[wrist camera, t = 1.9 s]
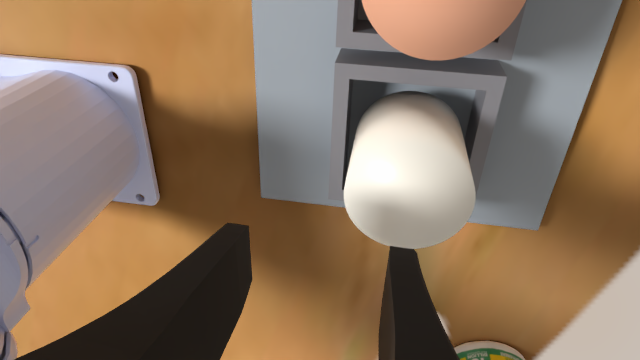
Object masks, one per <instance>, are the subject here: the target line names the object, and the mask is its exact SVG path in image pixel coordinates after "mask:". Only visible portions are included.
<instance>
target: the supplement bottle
mask: <svg viewBox="0 0 640 360" xmlns="http://www.w3.org/2000/svg"><path fill="white" fill-rule="evenodd" d="M454 350H455V351H456V353H457V355H458V357H459V359H460V360H525V358H524V357H523V356H522V354H520V353H519V352H518V351H517V350H515V349H514V348H512V347H510V346H508V345H505V344H503V343H499V342H494V341H474V342H468V343H464V344H461V345H459V346H457V347H455V348H454Z"/></svg>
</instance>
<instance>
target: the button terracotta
mask: <svg viewBox="0 0 640 360" xmlns="http://www.w3.org/2000/svg"><path fill="white" fill-rule="evenodd" d="M525 1H526V0H362V4H363V7H364V10H365V12H366V15H367V17H368V19H369V21H370V23H371V24H372V26H373V27H374V29H375V30H376V31H377V33H378V34H379V35H380V36H381V37H382V38H383V39H384V40H385V41H386V42H387V43H388V44H390V45H391V46H392V47H394V48H395V49H397V50H399V51H400V52H402V53H404V54H407V55H409V56H412V57H415V58H419V59H424V60H440V61H441V60H450V59H455V58H459V57H463V56H466V55H469V54H471V53H474V52H476V51H478V50H480V49H482V48H483V47H485V46H486V45H488V44H489V43H491V42H492V41H494V40H495V39H496V38H497V37H499V36H500V35H501V34H502V33H503V32H504V31H505V30H506V29H507V28H508V27H509V26H510V25H511V23H512V22H513V21H514V19H515V18H516V17H517V15H518V14H519V12H520V11H521V9H522V7H523V6H524V4H525Z"/></svg>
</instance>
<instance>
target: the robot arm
mask: <svg viewBox="0 0 640 360" xmlns="http://www.w3.org/2000/svg"><path fill="white" fill-rule="evenodd" d="M112 72H115V73H116V74H117V75H118V79H116V78H115V77H114V76H113V74H112ZM140 194H141V195H143V196H144V197H141V196H140ZM159 199H160V195H159V190H158V184H157V179H156V174H155V169H154V164H153V158H152V153H151V148H150V143H149V138H148V133H147V127H146V122H145V117H144V112H143V107H142V102H141V96H140V91H139V86H138V81H137V76H136V73H135V71H134V70H133V69H132V68H131V67H129V66H126V65H118V64H107V63H95V62H84V61H72V60H61V59H49V58H38V57H26V56H14V55H3V54H0V360H220V358H221V356H222V354H223V352H224V349H225V347H226V345H227V343H228V341H229V339H230V337H231V334H232V332H233V330H234V328H235V326H236V324H237V321H238V319H239V317H240V315H241V313H242V310H243V307H244V304H245V301H246V298H247V295H248V292H249V288H250V285H251V282H252V268H251V254H250V240H249V226H246V225H239V224H232V223H227V224H225V225H224V226H223V227H222V228H221V229H219V230H218V231H217V232H216V233H215V234H213V235H212V236H211V237H210V238H209V239H208V240H206V241H205V242H204V243H203V244H202V245H201V246H199V247H198V248H197V249H196V250H195V251H193V252H192V253H191V254H190V255H189V256H187V257H186V258H185V259H184V260H182V261H181V262H180V263H179V264H177V265H176V266H175V267H174V268H173V269H171V270H170V271H169V272H167V273H166V274H165V275H163V276H162V277H161V278H159V279H158V280H157V281H155V282H154V283H152V284H151V285H150V286H148V287H147V288H146V289H144V290H143V291H141V292H140V293H138V294H137V295H136V296H134V297H133V298H131V299H130V300H128V301H127V302H125V303H123V304H122V305H120V306H118V307H117V308H115V309H114V310H112V311H110V312H109V313H107V314H105V315H103V316H102V317H100V318H98V319H96V320H94V321H93V322H91V323H89V324H87V325H85V326H83V327H81V328H79V329H78V330H76V331H74V332H72V333H70V334H68V335H66V336H64V337H62V338H60V339H58V340H56V341H54V342H52V343H50V344H48V345H46V346H44V347H41V348H39V349H37V350H35V351H32V352H30V353H28V354H26V355H24V356H21V357H19V358H17V343H16V340H15V338H14V336H13V334H12V333H11V332H10V331H11V329H12V328H13V327H14V326H15V325H16V324H17V323H18V322H19V321H20V320H21V318H22V317H23V316H24V315H25V314H26V313H27V312H28V311H29V310H30V306H29V304H28V302H27V300H26V297H25V290H26V289H27V288H28V287H29V286H30V285H31V284H32V283H33V282H34V281H35V280H36V279H37V278H38V277H39V276H40V275H41V274H42V273H43V272H44V271H45V270H46V269H47V268H48V266H49V265H50V264H51V263H52V262H53V261H54V260H55V259H56V258H57V257H58V256H59V255H60V254H61V253H62V252H63V251H64V250H65V249H66V248H67V247H68V246H69V245H70V244H71V243H72V241H73V240H74V239H75V238H76V237H77V236H78V235H79V234H80V233H81V232H82V231H83V230H84V229H85V228H86V227H87V226H88V225H89V224H90V223H91V222H92V221H93V220H94V219H95V218H96V216H97V215H98V214H99V213H100V212H101V211H102V210H103V209H104V208H105V207H106V206H107V205H108V204H109V203H110V202H111V201H117V202H125V203H133V204H141V205H149V206H153V205H155V204H157V202H158V201H159ZM16 358H17V359H16ZM379 360H460V359H459V357H458V355H457V353H456V351H455V350H454V348H453V346H452V344H451V342H450V340H449V338H448V336H447V334H446V332H445V330H444V328H443V326H442V323H441V321H440V319H439V317H438V314H437V312H436V310H435V307H434V305H433V303H432V300H431V298H430V295H429V292H428V290H427V287H426V284H425V281H424V278H423V275H422V272H421V269H420V265H419V261H418V256H417V253H416V251H415V250H414V249H409V248H402V247H395V246H390V251H389V258H388V265H387V271H386V278H385V285H384V292H383V298H382V307H381V317H380V327H379Z"/></svg>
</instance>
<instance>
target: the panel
mask: <svg viewBox="0 0 640 360" xmlns="http://www.w3.org/2000/svg"><path fill="white" fill-rule="evenodd" d="M621 2H622V0H526V1H525V4H524V6H523V7H522V9H521V11H520V12H519V14H518V15H517V17H516V18H515V19H514V21H513V22H512V23H511V25H510V26H509V27H508V28H507V29H506V30H505V31H504V32H503V33H502V34H501V35H500V36H499V37H497V38H496V39H495V40H494V41H492V42H491V43H489V44H488V45H486V46H485V47H483V48H482V49H480V50H478V51H476V52H474V53H471V54H469V55H466V56H463V57H459V58H455V59H450V60H441V61H440V60H424V59H419V58H415V57H412V56H409V55H407V54H404V53H402V52H400V51H399V50H397V49H395V48H394V47H392V46H391V45H390V44H388V43H387V42H386V41H385V40H384V39H383V38H382V37H381V36H380V35H379V34H378V33H377V31H376V30H375V29H374V27H373V26H372V24H371V23H370V21H369V19H368V17H367V15H366V12H365V10H364V7H363V4H362V0H252V16H253V37H254V58H255V79H256V100H257V121H258V142H259V163H260V184H261V198H269V199H277V200H286V201H294V202H303V203H311V204H319V205H328V206H336V207H345V203H344V187H345V181H346V177H347V172H348V167H349V163H350V158H351V153H352V149H353V144H354V139H355V134H356V130H357V126H358V123H359V121H360V119H361V117H362V115H363V114H364V112H365V111H366V110H367V109H368V108H369V107H370V106H371V105H372V104H373V103H374V102H376V101H377V100H379V99H380V98H382V97H384V96H386V95H389V94H392V93H396V92H400V91H419V92H424V93H428V94H431V95H433V96H435V97H437V98H439V99H441V100H442V101H444V102H445V103H446V104H447V105H448V106H449V107H450V108H451V109H452V110H453V111H454V113H455V114H456V116H457V118H458V120H459V122H460V126H461V129H462V134H463V138H464V142H465V147H466V151H467V155H468V160H469V164H470V168H471V173H472V177H473V181H474V186H475V192H476V194H475V205H474V209H473V212H472V214H471V216H470V218H469V220H468V221H467V222H471V223H479V224H488V225H496V226H504V227H513V228H521V229H530V230H538V229H539V226H540V223H541V220H542V218H543V215H544V212H545V210H546V207H547V204H548V201H549V199H550V196H551V193H552V190H553V188H554V185H555V182H556V180H557V177H558V174H559V171H560V169H561V166H562V163H563V160H564V158H565V155H566V152H567V150H568V147H569V144H570V141H571V139H572V136H573V133H574V130H575V128H576V125H577V122H578V120H579V117H580V114H581V111H582V109H583V106H584V103H585V101H586V98H587V95H588V92H589V90H590V87H591V84H592V81H593V79H594V76H595V73H596V71H597V68H598V65H599V62H600V60H601V57H602V54H603V51H604V49H605V46H606V43H607V41H608V38H609V35H610V32H611V30H612V27H613V24H614V21H615V19H616V16H617V13H618V11H619V8H620V5H621ZM345 208H346V207H345Z"/></svg>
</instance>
